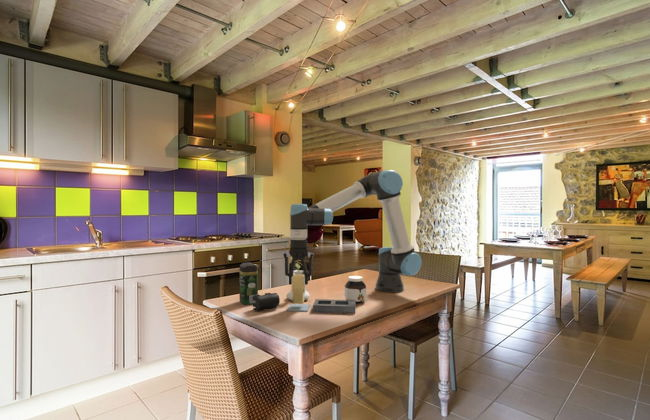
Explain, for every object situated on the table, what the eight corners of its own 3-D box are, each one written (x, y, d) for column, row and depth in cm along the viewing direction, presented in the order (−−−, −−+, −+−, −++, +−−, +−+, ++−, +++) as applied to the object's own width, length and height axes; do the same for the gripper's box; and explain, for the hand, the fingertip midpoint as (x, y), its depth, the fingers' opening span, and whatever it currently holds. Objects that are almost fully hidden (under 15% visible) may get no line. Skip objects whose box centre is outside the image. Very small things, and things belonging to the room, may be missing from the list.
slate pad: (310, 305, 158) (310, 304, 158) (307, 311, 149) (307, 310, 149) (290, 305, 158) (290, 303, 158) (286, 311, 150) (286, 309, 150)
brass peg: (304, 301, 155) (304, 274, 155) (302, 303, 151) (302, 276, 151) (294, 300, 156) (294, 274, 156) (292, 303, 152) (292, 275, 151)
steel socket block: (355, 306, 156) (355, 300, 156) (355, 313, 146) (355, 306, 146) (315, 305, 158) (315, 299, 158) (312, 312, 148) (312, 305, 148)
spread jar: (347, 304, 160) (348, 279, 160) (340, 298, 171) (340, 274, 171) (372, 302, 163) (372, 278, 163) (363, 296, 174) (363, 273, 174)
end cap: (259, 313, 146) (259, 297, 146) (251, 310, 151) (251, 294, 151) (279, 309, 153) (279, 293, 152) (271, 305, 158) (271, 290, 158)
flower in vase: (290, 295, 175) (290, 246, 175) (312, 297, 173) (312, 246, 173) (282, 302, 162) (282, 249, 162) (305, 304, 160) (305, 250, 160)
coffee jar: (237, 301, 165) (237, 262, 165) (253, 299, 169) (253, 260, 169) (243, 306, 157) (243, 265, 157) (260, 303, 161) (260, 263, 161)
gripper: (277, 239, 150) (277, 293, 151) (317, 239, 149) (317, 294, 149) (281, 237, 158) (281, 289, 158) (319, 238, 156) (319, 290, 156)
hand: (298, 291), depth 153 cm, fingers closed on brass peg, 4 cm apart
